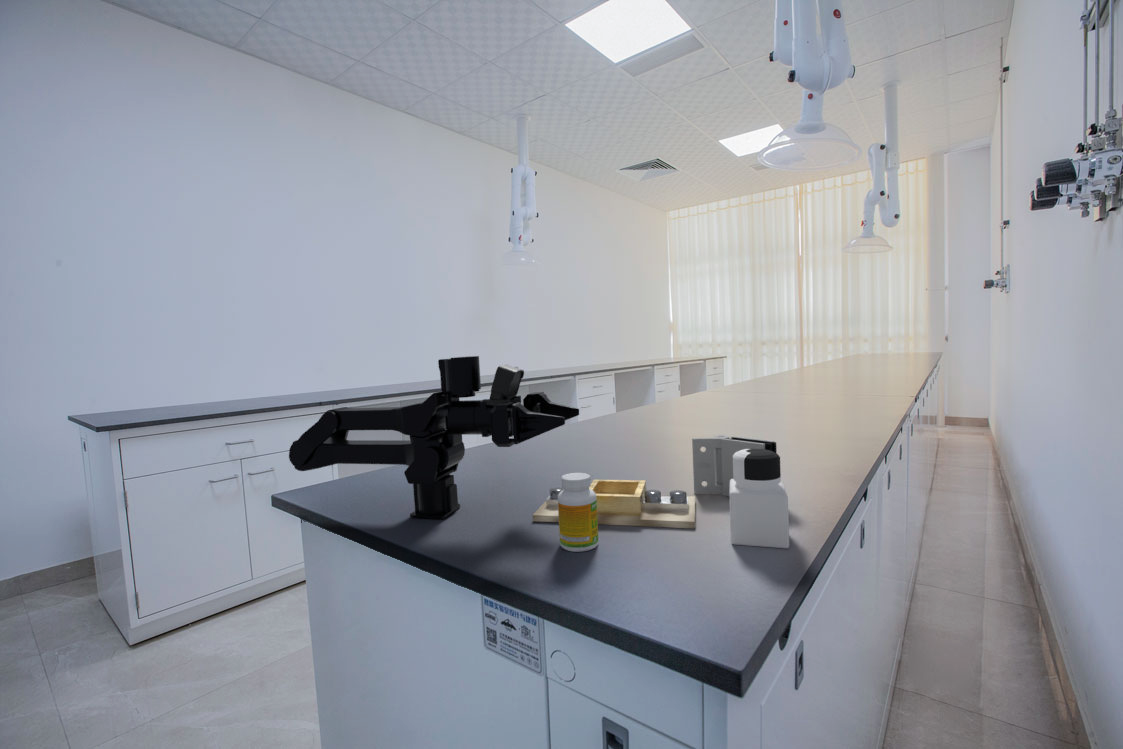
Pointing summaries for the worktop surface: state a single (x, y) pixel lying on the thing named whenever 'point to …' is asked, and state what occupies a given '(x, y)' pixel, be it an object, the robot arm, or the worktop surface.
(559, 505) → the supplement bottle
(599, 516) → the board
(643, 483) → the bottle holder fixture
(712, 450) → the hinge
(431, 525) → the worktop surface
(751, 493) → the medicine bottle
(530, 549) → the worktop surface
